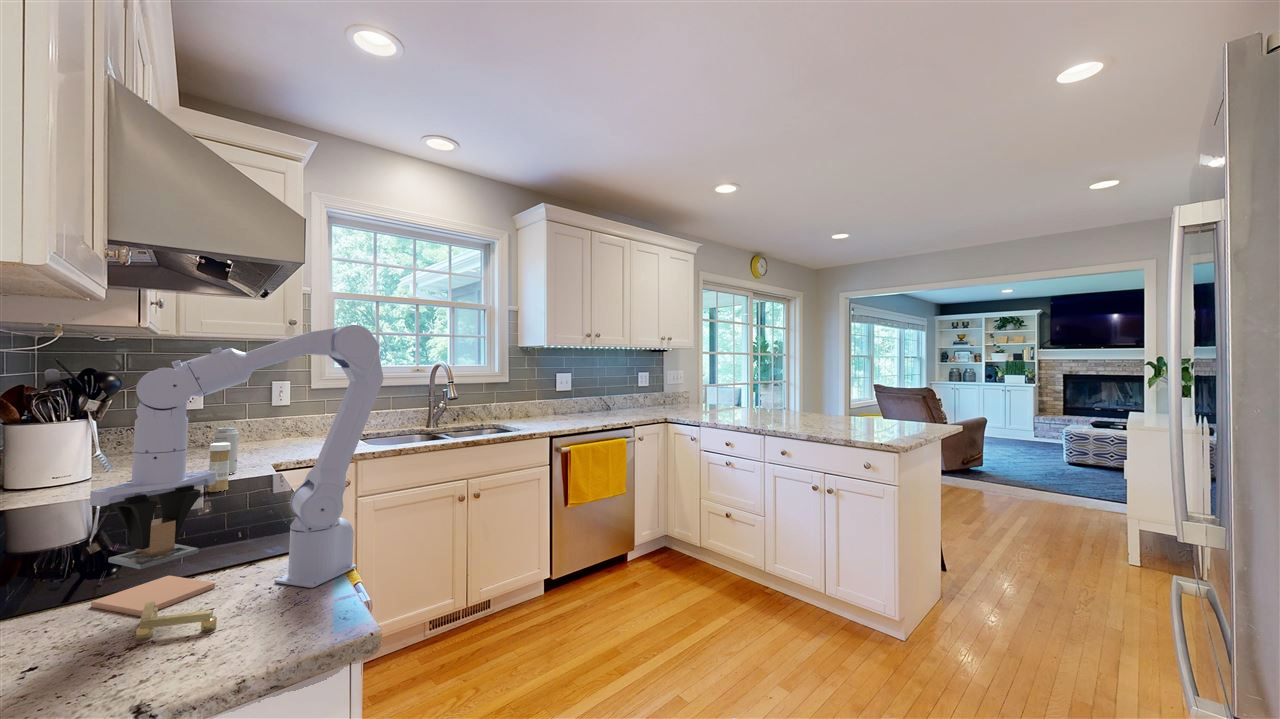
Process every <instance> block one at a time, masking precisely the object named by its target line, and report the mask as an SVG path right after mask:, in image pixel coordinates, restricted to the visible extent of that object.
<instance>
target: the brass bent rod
mask: <svg viewBox="0 0 1280 719" xmlns="http://www.w3.org/2000/svg"><path fill="white" fill-rule="evenodd" d="M155 602H156V601H154V602H149V603H146V604H145V607H144V610H143V611H142V616H140V619H139V626H138V627H136V634H135V641H136V642H142V641H143V642H144V641H147V640H149V639H151V638H153V637H154V629H155V628H161V627H170V626H171V627H172V626H178V625H187V624H194V623H201V626H200V633H209V632H213V631H215V630H216V629H217V622H218V619H217V618H218V617H217V616H213V613H214V610H213V609H212V610H211V609H210V610H202V611H192V612H185V613H175V614H167V615H160V616H158V614H159V613H158V612H159V610H158V608H157V607H155Z"/></svg>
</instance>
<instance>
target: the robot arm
mask: <svg viewBox="0 0 1280 719" xmlns="http://www.w3.org/2000/svg"><path fill="white" fill-rule="evenodd" d="M306 355H314V356H328V357H329V358H331V360H332V361H334V362H335V363H336V364H337V365H339V366H340V367H341V369H342V370H343V372H344V374H345V376H346V377H347V379H348V381H349V382H348V383H349V384H348V385H347V388H346V391H345V393H344V394H343V397H342V400H341V403H340V404H339V407H338V410H337V412H336V414H335V416H334V419H333V421H332V424H331V427H329V431H328V434H327V436H326V438H325V440H324V443H323V445H322V448H321V450H320V453H319V455H318V457H317V460H316V462H315V463H314V465H313V467H312V468H311V470H309V471H308V473H307V474H306V476H305V479H304V481H303V482H302V484H300V485H299V486H298V487H297V488H296V489H295V490H294V491H293V493H292V494H291V497H290V500H289V501H290V502H289V505H290V508H291V510H292V512H293V513H294V514H295V515H296V516H295V518H294V520H293V521H292V522H291V523H290V525H289V526H290V528H289V529H290V530H289V547H288V565H287V566H288V567H287V568H288V571H287V573H286V574H284V575H282V576H278V577H276V578H275V579H274V583H277V584H283V585H289V586H290V585H291V586H295V587H304V588H309V589H312V588H315V587H318V586H319V585H321V584H324V583H326V582H328V581H330V580H333V579H335V578H337V577H339V576H341V575H343V574H345V573H347V572H349V571H352V570H353V569H356V568H357V564H355V563H353V558H354V534H355V533H354V529H353V525H352V524H351V522H350V521H349V520H347V519H346V518H344V517H341V515H342V514H343V510H344V501H343V500H344V499H343V498H344V497H343V496H344V493H345V491H346V487H347V471H348V469H349V466H350V465H351V462H352V459H353V456H354V455H355V452H356V449H357V447H358V444H359V442H360V439H361V437H362V435H363V432H364V430H365V426H366V425H367V422H368V419H369V417H370V414H371V412H372V409H373V407H374V404H375V403H376V400H377V397H378V395H379V392H380V390H381V386H382V385H383V382H384V373H383V368H382V363H381V356H380V344H379V342H378V341H377V339H376V338H375V337H374V335H373V333H372V332H371V331H370V330H369V329H368V328H367V327H365V326H362V325H360V324H348V325H345V326H337V327H334V328H328V329H320V330H313V331H308V332H304V333H300V334H298V335H295V336H292V337H288V338H286V339H282V340H280V341H277V342H274V343H271V344H268V345H267V344H266V345H264V346H262V347H259V348H256V349H252V350H250V351H246V352H244V351H241V350H238V349H235V348H231V347H230V348H227V349H223V348H222V347H216V348H212V349H210V353H209V354H206V355H202V356H199V357H195V358H192V359H189V360H186V361H182V362H181V359H179V360H174V361H171V365H172V367H173V368H171V367H159V368H156V369H154V370H151V371H149V372H147V373H145V374H144V375H143V376H142V377H141V378H140V379H139V381H138V382H137V384H136V387H135V390H136V395H137V397H138V399H139V401H140V402H138V405H137V407H136V415H137V418H136V419H135V420H134V429H133V430H134V433H133V448H132V464H131V465H132V468H131V481H128V482H124V483H120V484H116V485H113V486H109V487H104V488H100V489H93V490H90V494H89V495H90V496H89V506H93V507H105V506H108V505H110V504H111V508H112V509H113V510H114V511H115V512H116V514H117V515H118V516H119V518H120V519H121V521H122V523H123V524H124V526H125V529H126V532H127V535H128V536H129V537H128V538H129V540H130V545H131V548H132V549H134V550H136V549H141V550H142V549H146V548H148V545H149V541H150V531H151V523H152V520H153V518H154V515H155V511H156V509H157V506H158V504H159V502H160V508H161V516H162V517H161V518H165V519H171V520H176V526H175V541H178V539H179V536H180V534H181V531H182V529H183V526H184V523H185V522H186V519H187V518H188V517H187V516H188V514H189V512H191V509H192V508H193V506H194V505H195V503H196V502H197V500H199V498H200V497H201V491H202V490H201V489H198V488H196V487H200V486H209V485H212V484H215V480H216V472H211V471H209V470H207V471H205V470H204V471H199V472H191V473H187V471H186V470H187V456H188V454H187V453H188V434H189V433H188V432H189V418H188V417H187V407H188V403H187V402H188V401H189V399H190V398H191V397H193V396H196V397H199V398H201V397H204V396H208V395H211V394H214V393H216V392H220V391H222V390H226V389H228V388H231V387H234V386H238V385H240V384H244V383H247V382H248V381H249V379H250V378H251V375H252V373H253V372H254V371H257V370H259V369H262V368H266V367H270V366H272V365H275V364H279V363H282V362H286V361H288V360H293V359H295V358H299V357H303V356H306ZM154 495H157V496H158V499H159V502H158V501H155V500H150V498H149V496H154Z"/></svg>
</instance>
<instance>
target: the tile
mask: <svg viewBox="0 0 1280 719" xmlns="http://www.w3.org/2000/svg"><path fill="white" fill-rule="evenodd" d="M215 588H216V582H212V581H205V580H199V579H193V578H188V577H181V576H175V575H167V576H162V577H160V578H157V579H154V580H151V581H148V582H145V583H142V584H139V585H136V586H134V587H130V588H127V589H124V590H121V591H118V592H115V593H112V594H109V595H105V596H103V597H100V598H97V599H95V600H91V601H90V607H91V608H95V609H101V610H106V611H111V612H116V613H123V614H127V615H130V616H131V615H132V616H138V617H141V616H142V611H143V610H144V607H145V604H146V603H149V602H154V601H156V602H155V607H157V608H158V611H159V610H161V609H164V608H166V607H169V606H172V605H175V604H176V603H180V602H182V601H185V600H187V599H190V598H192V597H195V596H197V595H199V594H202V593H206V592H208V591H211V590H213V589H215Z"/></svg>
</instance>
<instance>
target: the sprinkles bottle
mask: <svg viewBox="0 0 1280 719" xmlns="http://www.w3.org/2000/svg"><path fill="white" fill-rule="evenodd" d="M230 445H231V444H230V443H215V442H213V443H210V445H209V465H208V471H211V472H216V480H215V484H212V485H208V489H207V491H208V492H209V493H216V492H217V493H219V491H221V492H225V491H228V490H229V476H230V475H229V451H230ZM224 490H225V491H224Z"/></svg>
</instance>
